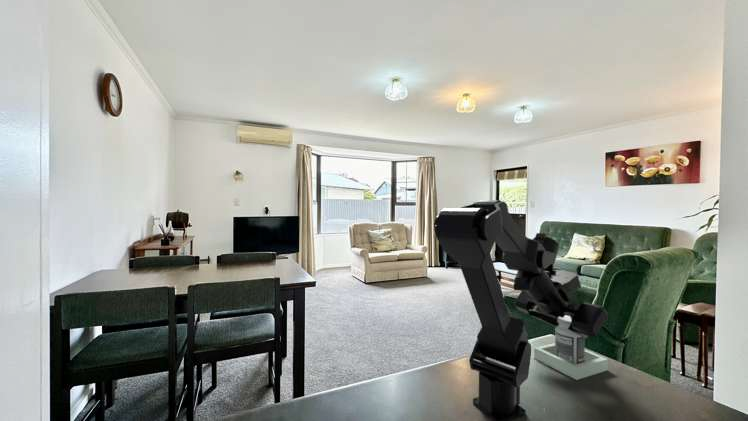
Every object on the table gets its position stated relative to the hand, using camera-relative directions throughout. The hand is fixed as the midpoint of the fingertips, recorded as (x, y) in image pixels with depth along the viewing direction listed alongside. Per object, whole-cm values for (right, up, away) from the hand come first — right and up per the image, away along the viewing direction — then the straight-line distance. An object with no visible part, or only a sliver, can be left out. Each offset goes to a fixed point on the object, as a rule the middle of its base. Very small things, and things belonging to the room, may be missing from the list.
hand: (573, 331), depth 72 cm
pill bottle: (-1, -7, -1) cm, 7 cm away
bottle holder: (-1, -7, 0) cm, 7 cm away
